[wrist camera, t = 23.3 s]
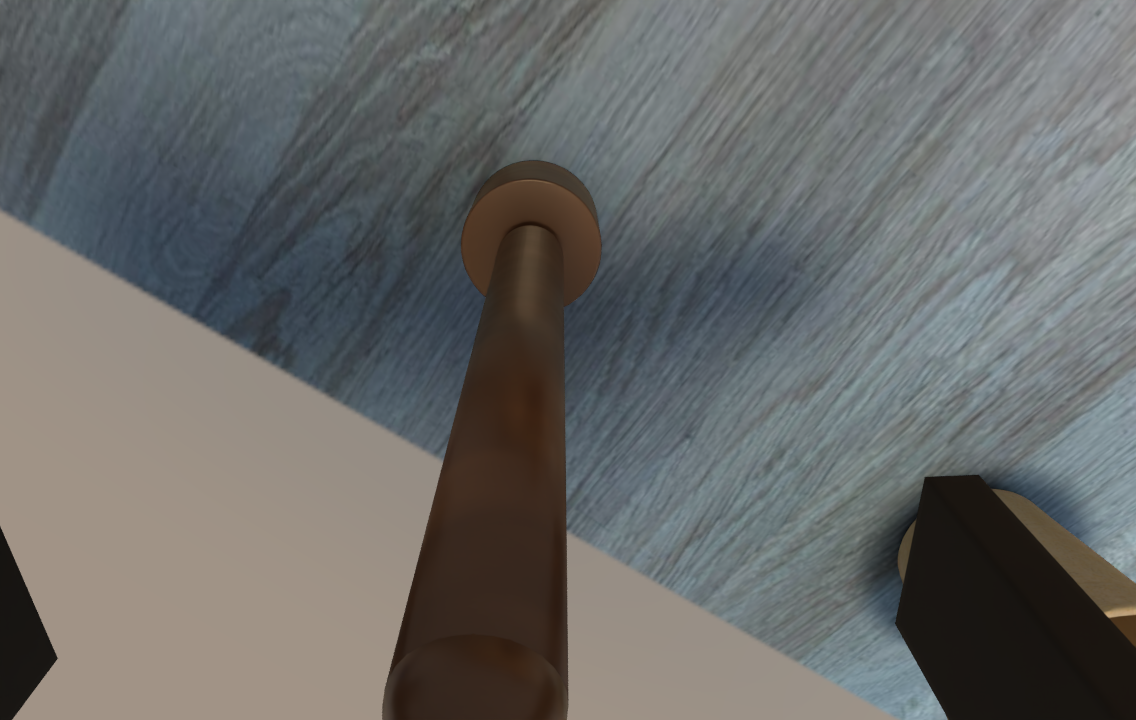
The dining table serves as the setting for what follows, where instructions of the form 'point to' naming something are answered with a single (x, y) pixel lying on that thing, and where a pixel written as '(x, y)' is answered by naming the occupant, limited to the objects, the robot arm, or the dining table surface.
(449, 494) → the wooden pestle
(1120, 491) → the dining table surface
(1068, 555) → the flower pot
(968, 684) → the robot arm
